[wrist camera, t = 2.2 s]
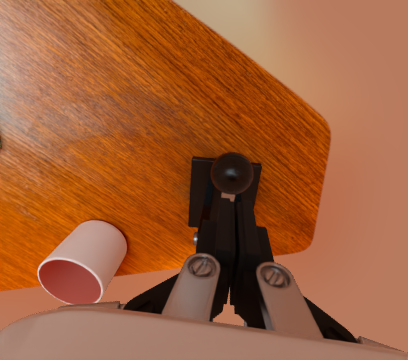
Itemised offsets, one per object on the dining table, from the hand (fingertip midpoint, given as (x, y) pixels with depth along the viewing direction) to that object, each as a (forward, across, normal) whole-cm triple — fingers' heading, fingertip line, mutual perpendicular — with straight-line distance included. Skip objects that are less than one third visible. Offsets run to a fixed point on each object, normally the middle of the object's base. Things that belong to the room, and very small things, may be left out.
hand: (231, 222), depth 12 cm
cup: (+22, +21, +23) cm, 38 cm away
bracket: (+22, 0, +10) cm, 24 cm away
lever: (+10, 0, +4) cm, 11 cm away
